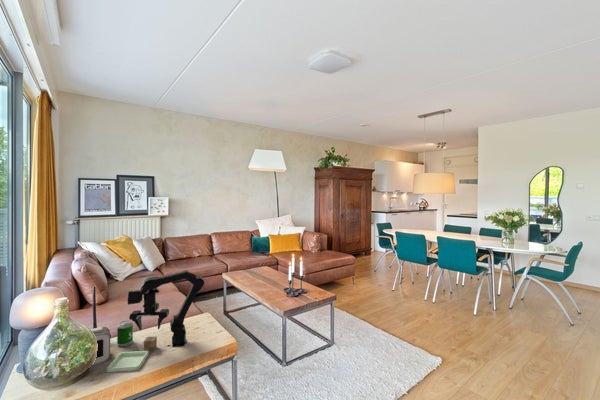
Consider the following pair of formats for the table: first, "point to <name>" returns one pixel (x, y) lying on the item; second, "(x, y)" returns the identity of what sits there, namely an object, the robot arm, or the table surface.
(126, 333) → the soda can
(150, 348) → the walnut block
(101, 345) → the alarm clock
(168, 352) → the table surface
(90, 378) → the table surface
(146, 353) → the tray
